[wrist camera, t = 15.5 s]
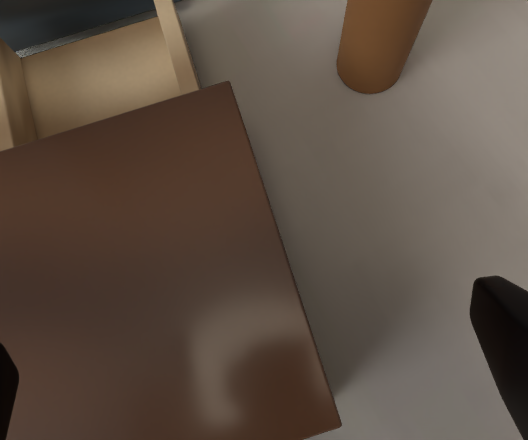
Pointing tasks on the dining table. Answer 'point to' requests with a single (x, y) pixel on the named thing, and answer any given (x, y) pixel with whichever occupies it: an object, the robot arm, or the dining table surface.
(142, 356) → the cabinet
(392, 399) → the dining table surface
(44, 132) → the drawer
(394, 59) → the paper roll
